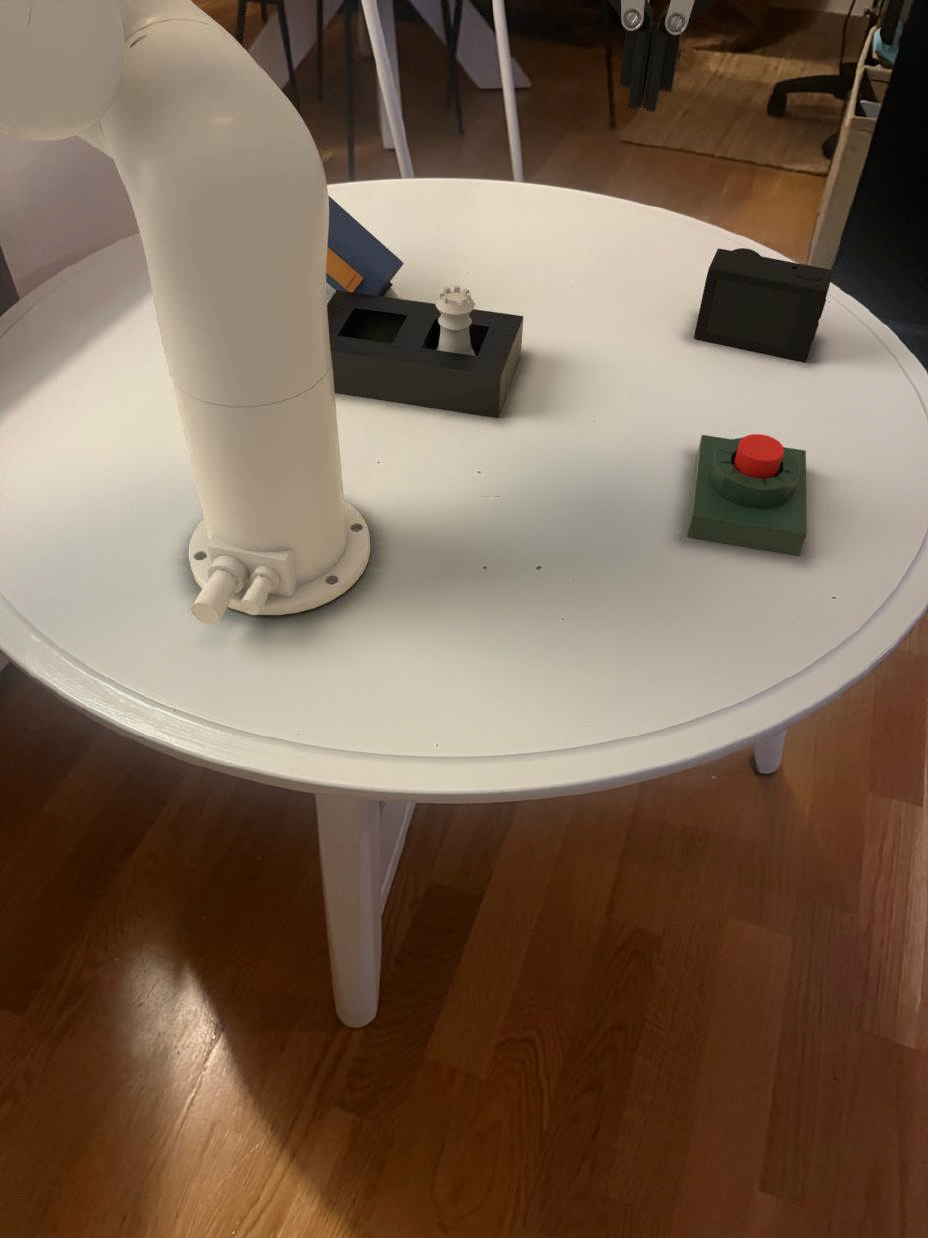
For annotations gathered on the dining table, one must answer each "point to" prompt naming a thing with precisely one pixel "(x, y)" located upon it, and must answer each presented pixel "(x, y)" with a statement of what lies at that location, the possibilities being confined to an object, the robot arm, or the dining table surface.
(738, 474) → the switch box
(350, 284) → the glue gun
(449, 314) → the rook chess piece
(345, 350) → the holder
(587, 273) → the dining table surface
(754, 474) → the power button
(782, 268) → the digital camera
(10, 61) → the robot arm
